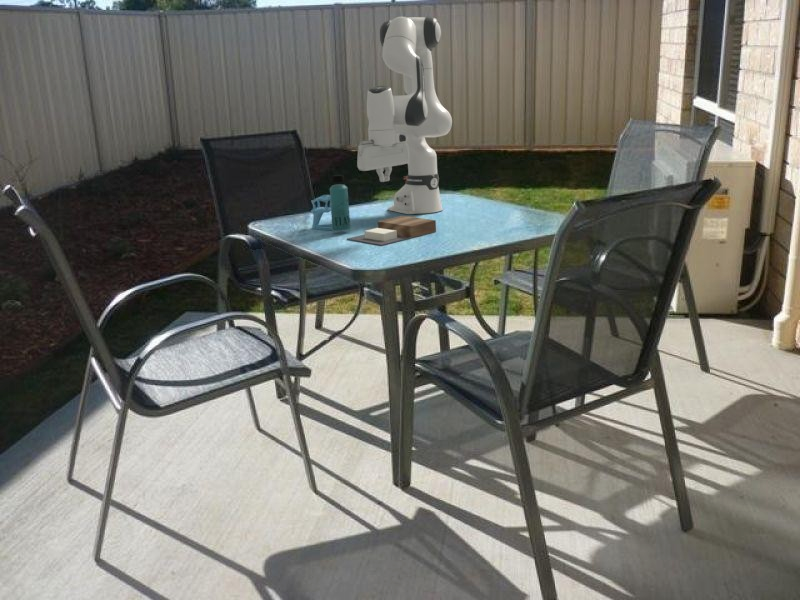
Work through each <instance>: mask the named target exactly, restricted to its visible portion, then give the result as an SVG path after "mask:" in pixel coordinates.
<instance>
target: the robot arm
mask: <svg viewBox="0 0 800 600" xmlns="http://www.w3.org/2000/svg"><path fill="white" fill-rule="evenodd" d="M441 36H442V29H441V26H440V22H439V21H438V19H437V18H436V17H432V16H426V17H424V16H423V17H421V16H418V17H417V16H416V17H415V16H414V17H413V16H412V17H407V16H397V17H395V18H393V19H390V20H386V21H384V22H383V23H382V24H381V26H380V28H379V41H380V43H381V46H382V53H381V54H382V55H381V56H382V59H383V62H384V64H385V66H386V67H387V68H388V69H389V70H391V71H393V72H395V73H397V74H400V75H402V76H403V89H404V92H405V94H403V95H402V94H401V95H400V94H399V95H393V91H392V88H391V87H390V86H386V85H378V86H372V87H371V88H369V89H368V90H367V95H366V116H367V120H368V127H367V130H368V131H367V132H368V133H367V134H368V140H363V141H361V142H360V143H359V144H358V146H357V157H356V158H357V160H356V161H357V163H356V164H357V165H356V167H357V168H358V170H359V171H362V172H366V171H375V172H376V173H377V175H378V177H379V182H380V183H384V182H389V181H390V180H391V179H390V175H391V173H392V171H393V167H397V166H402V165H406V164H407V170H408V173H407V175H405V176H403V180H405V184H404V185H402V187H401V188H399V190H398V191H396V192H395V194H394V196H393V205H390V206H389V207H387V210H388V211H391V212H394V213H401V214H405V215H415V214H418V215H419V214H420V215H421V214H432V213H438V212H441V211H443V210H444V208H443V204H442V200H441V194H440V188H439V183H440V182H439V181H440V177H439V173H438V157H437V153H436V150H435V149H433V148H432V147H430V146H429V144H428V142H427V141H426V138H438V137H443V136H446V135H448V134H449V133H450V131H451V129H452V127H453V119H452V115H451V114H450V112H449V111H448V110H447V109H446V108H445V107H444V106H443V104H441V102H440V100H439V98H438V96H437V93H436V88H435V81H434V80H435V79H434V66H433V65H434V64H433V56H432V51H433V49H435V47H437V45H438V44H439V43H440V40H441ZM384 171H385V172H384ZM383 172H384V173H383Z"/></svg>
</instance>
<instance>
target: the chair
mask: <svg viewBox="0 0 800 600" xmlns="http://www.w3.org/2000/svg"><path fill="white" fill-rule="evenodd" d="M310 201H311V204H312V209H311V210H310V212H311V213H312V215H313V217H312V218H313V220H312V224H311V225H312V226H311V229H312V230H320V231H322V230H324V231H334V230H333V228H332V223H327V224H325V223H324V224H320V222H321V219H322V217H323V215H324V213H331V200H330V194H322V195H320V196H318V197H316V198H314V199H313V200H310ZM320 202H323V203H325V205H324V206H321V203H320ZM328 202H329V206H328ZM315 203H317V207H316V205H315Z"/></svg>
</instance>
